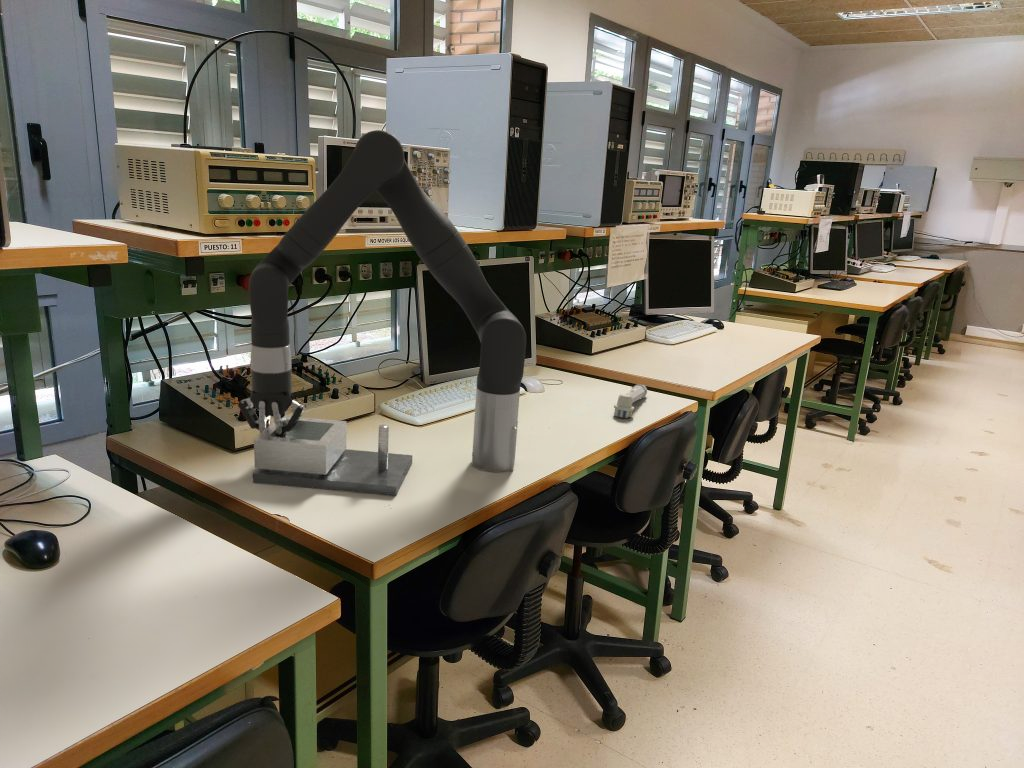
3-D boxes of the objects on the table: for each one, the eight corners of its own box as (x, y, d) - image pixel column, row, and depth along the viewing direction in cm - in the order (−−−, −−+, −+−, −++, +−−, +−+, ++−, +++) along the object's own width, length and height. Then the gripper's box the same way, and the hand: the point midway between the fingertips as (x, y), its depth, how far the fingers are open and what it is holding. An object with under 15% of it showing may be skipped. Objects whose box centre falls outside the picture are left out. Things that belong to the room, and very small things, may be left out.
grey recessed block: (346, 447, 151) (346, 421, 149) (325, 474, 138) (325, 445, 136) (281, 442, 152) (280, 415, 150) (254, 467, 138) (253, 439, 137)
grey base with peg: (412, 463, 152) (413, 415, 149) (396, 496, 137) (397, 442, 134) (283, 452, 153) (282, 403, 150) (252, 482, 138) (251, 429, 135)
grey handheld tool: (650, 385, 212) (633, 394, 189) (647, 406, 213) (629, 419, 190) (633, 382, 214) (614, 391, 191) (630, 403, 215) (610, 415, 192)
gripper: (312, 364, 143) (312, 445, 148) (244, 358, 143) (247, 439, 148) (299, 374, 136) (300, 458, 141) (228, 368, 136) (231, 452, 141)
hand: (273, 448), depth 145 cm, fingers closed on grey recessed block
